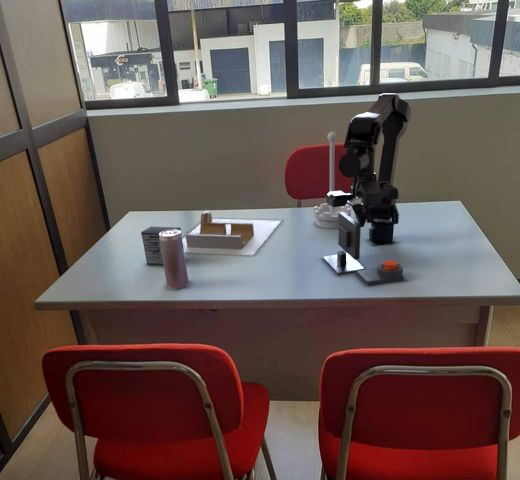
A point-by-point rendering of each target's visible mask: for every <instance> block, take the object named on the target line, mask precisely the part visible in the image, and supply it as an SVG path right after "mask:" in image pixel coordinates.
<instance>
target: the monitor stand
mask: <svg viewBox="0 0 520 480" xmlns="http://www.w3.org/2000/svg"><path fill="white" fill-rule="evenodd" d="M322 260H323V261H324V262H325V263H326V265H328V267H329V268H330V269H331V270H332V271H333V272H334V273H335V274H336V275H337V276H341V275H350V274H355V273H357V271H359V270H366V268H365V267H364V266H363V265H362V264H361V263H360V262H359V261H358V260H354V259H353V258H352V257H351V256H350V255H349V254H348V253H347V252H346V251H345V250H338V251H337V252H336V254H333V255H326V256H322Z"/></svg>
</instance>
